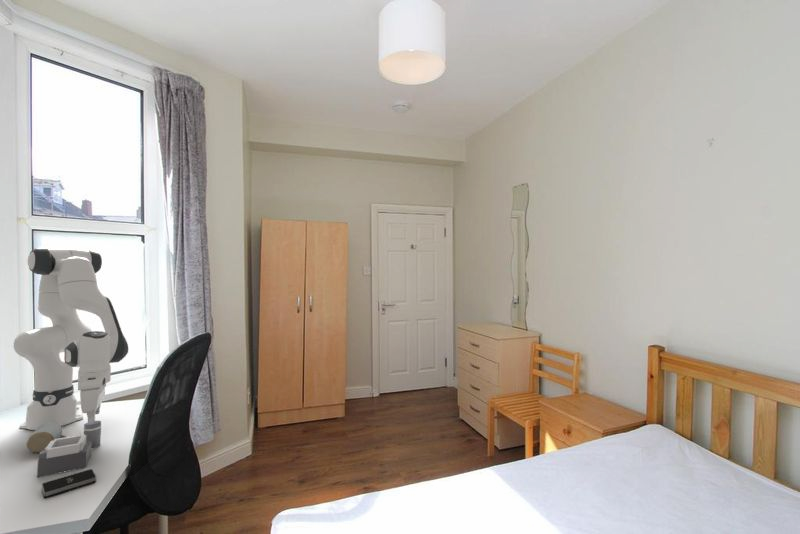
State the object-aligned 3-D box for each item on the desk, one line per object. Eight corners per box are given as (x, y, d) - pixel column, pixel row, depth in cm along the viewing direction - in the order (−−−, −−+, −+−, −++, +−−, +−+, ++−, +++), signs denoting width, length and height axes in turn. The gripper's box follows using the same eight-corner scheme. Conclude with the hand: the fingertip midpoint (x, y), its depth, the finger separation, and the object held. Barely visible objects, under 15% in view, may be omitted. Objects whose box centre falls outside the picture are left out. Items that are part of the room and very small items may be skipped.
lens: (84, 445, 129) (85, 421, 129) (101, 442, 132) (102, 419, 132) (81, 450, 125) (82, 426, 125) (99, 447, 128) (100, 423, 128)
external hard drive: (96, 484, 106) (96, 477, 106) (43, 501, 98) (43, 493, 98) (91, 475, 111) (92, 468, 111) (40, 490, 102) (41, 483, 102)
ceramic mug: (23, 456, 121) (25, 432, 121) (33, 446, 128) (34, 423, 128) (66, 449, 126) (67, 427, 126) (73, 440, 133) (74, 419, 133)
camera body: (46, 464, 116) (47, 440, 116) (90, 455, 122) (91, 432, 122) (37, 477, 108) (38, 451, 108) (85, 467, 114) (86, 443, 114)
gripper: (88, 373, 136) (87, 411, 136) (76, 386, 119) (75, 429, 118) (110, 371, 139) (109, 407, 139) (101, 383, 122) (100, 425, 122)
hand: (93, 418), depth 128 cm, fingers open, 8 cm apart
